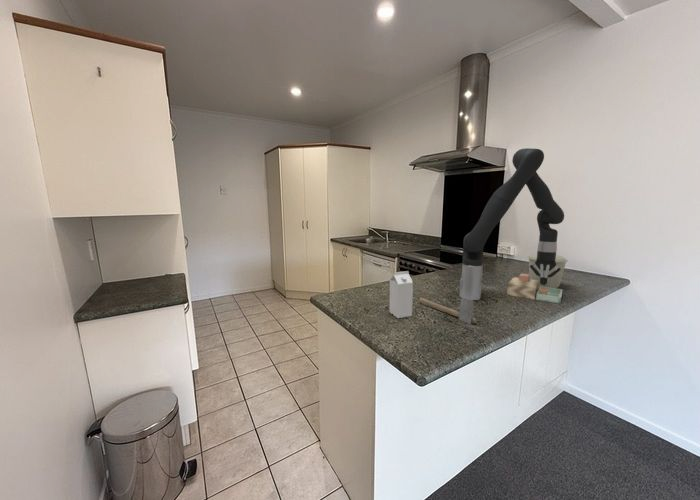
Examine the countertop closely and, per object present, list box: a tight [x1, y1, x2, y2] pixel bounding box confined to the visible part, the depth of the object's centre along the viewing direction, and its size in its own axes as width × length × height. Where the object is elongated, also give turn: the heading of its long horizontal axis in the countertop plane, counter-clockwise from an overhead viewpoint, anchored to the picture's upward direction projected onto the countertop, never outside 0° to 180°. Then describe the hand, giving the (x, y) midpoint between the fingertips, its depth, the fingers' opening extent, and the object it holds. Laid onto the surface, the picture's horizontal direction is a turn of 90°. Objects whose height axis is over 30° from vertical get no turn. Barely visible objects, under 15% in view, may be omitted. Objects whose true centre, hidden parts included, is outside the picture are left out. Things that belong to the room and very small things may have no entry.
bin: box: [535, 286, 563, 305], centre depth 136 cm, size 10×16×3 cm, turn 140°
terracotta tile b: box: [518, 273, 530, 282], centre depth 145 cm, size 4×5×3 cm
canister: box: [527, 253, 568, 289], centre depth 152 cm, size 18×18×21 cm
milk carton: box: [388, 270, 414, 319], centre depth 116 cm, size 7×7×19 cm
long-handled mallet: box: [418, 297, 477, 325], centre depth 118 cm, size 10×2×30 cm
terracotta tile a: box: [540, 287, 548, 295], centre depth 135 cm, size 4×5×3 cm
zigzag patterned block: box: [506, 276, 539, 300], centre depth 143 cm, size 12×16×6 cm
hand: (543, 284), depth 135 cm, fingers closed
